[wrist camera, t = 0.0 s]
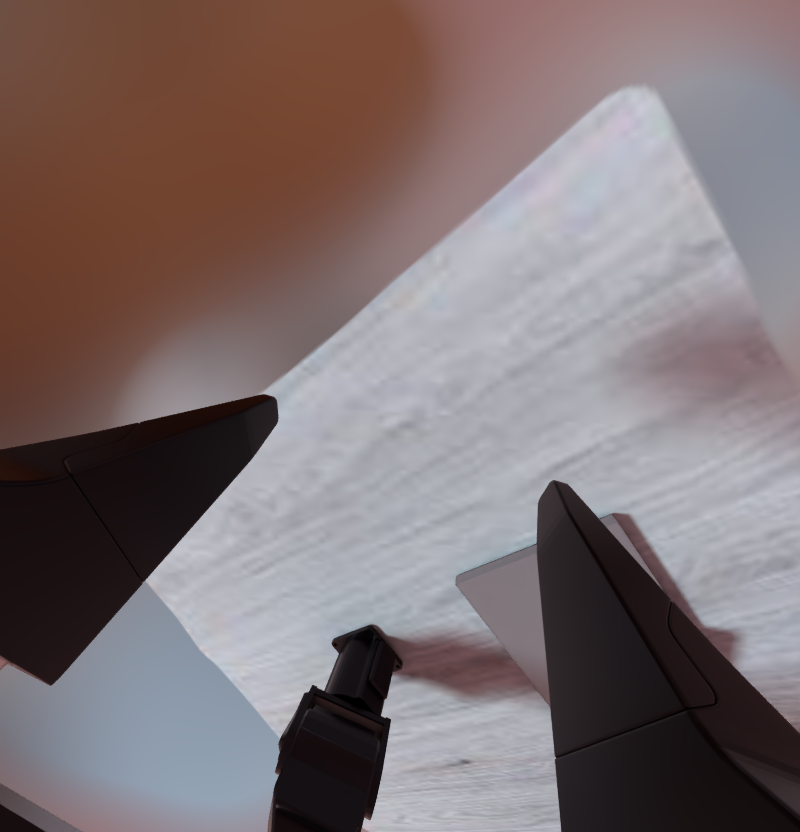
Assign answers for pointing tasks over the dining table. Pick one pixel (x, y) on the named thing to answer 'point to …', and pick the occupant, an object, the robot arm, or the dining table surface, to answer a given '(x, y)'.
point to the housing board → (521, 604)
